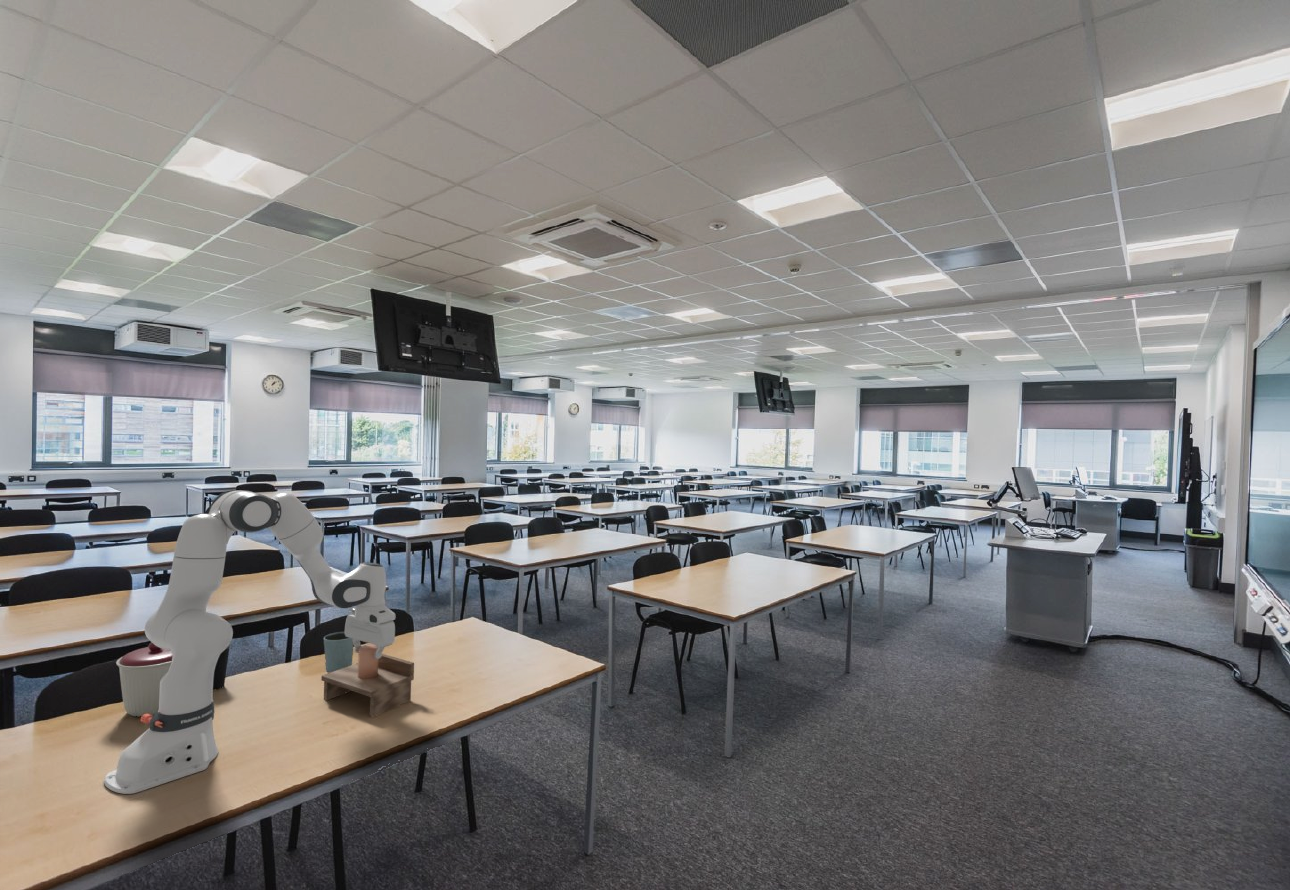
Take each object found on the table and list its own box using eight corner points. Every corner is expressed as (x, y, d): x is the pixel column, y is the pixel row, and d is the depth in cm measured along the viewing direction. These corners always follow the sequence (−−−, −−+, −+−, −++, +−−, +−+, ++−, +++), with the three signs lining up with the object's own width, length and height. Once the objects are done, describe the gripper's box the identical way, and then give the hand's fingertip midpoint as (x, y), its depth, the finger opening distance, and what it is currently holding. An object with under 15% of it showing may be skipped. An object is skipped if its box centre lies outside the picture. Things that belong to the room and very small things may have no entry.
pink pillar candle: (366, 680, 189) (366, 652, 189) (353, 676, 191) (354, 648, 191) (382, 674, 194) (382, 646, 194) (369, 670, 197) (370, 643, 197)
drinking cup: (214, 693, 194) (216, 632, 194) (195, 690, 195) (197, 630, 195) (234, 684, 201) (236, 625, 201) (216, 681, 203) (218, 623, 203)
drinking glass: (352, 671, 215) (353, 638, 215) (320, 674, 212) (321, 641, 212) (354, 661, 225) (355, 630, 225) (324, 664, 221) (325, 632, 221)
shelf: (370, 718, 180) (371, 679, 180) (320, 700, 191) (321, 663, 191) (413, 699, 194) (414, 662, 194) (364, 683, 205) (365, 648, 205)
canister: (112, 708, 181) (114, 639, 181) (186, 692, 194) (188, 627, 194) (116, 729, 169) (119, 655, 169) (195, 710, 181) (198, 642, 181)
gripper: (340, 609, 195) (338, 651, 194) (382, 619, 185) (380, 664, 185) (357, 605, 200) (355, 646, 200) (399, 615, 191) (397, 658, 191)
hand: (367, 654), depth 192 cm, fingers open, 8 cm apart
